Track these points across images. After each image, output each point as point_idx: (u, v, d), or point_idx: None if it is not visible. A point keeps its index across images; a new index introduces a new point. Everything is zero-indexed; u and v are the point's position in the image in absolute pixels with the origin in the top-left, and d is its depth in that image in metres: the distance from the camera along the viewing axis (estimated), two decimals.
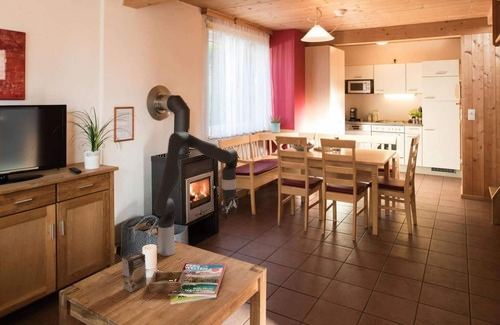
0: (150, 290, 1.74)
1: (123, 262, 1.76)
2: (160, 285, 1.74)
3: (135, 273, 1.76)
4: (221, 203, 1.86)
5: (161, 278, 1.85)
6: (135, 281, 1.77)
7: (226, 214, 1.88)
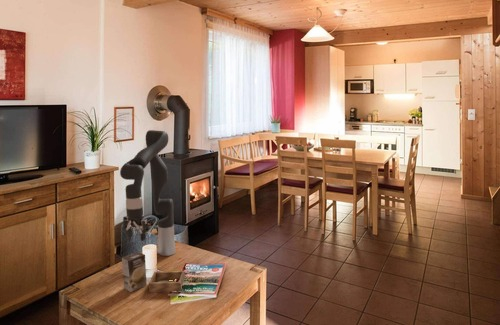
0: (150, 290, 1.74)
1: (123, 262, 1.76)
2: (160, 285, 1.74)
3: (135, 273, 1.76)
4: (145, 222, 1.71)
5: (161, 278, 1.85)
6: (135, 281, 1.77)
7: None
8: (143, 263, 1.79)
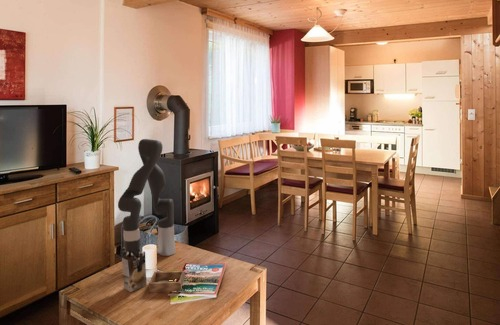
0: (150, 290, 1.74)
1: (123, 262, 1.76)
2: (160, 285, 1.74)
3: (135, 273, 1.76)
4: (142, 255, 1.74)
5: (161, 278, 1.85)
6: (135, 281, 1.77)
7: None
8: None
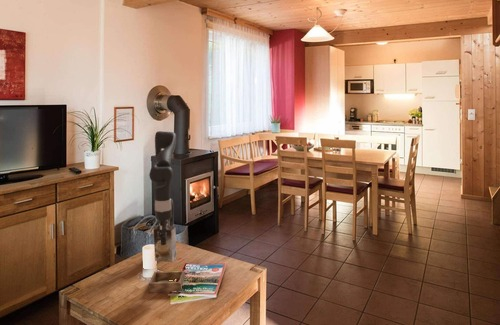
0: (150, 290, 1.74)
1: None
2: (160, 285, 1.74)
3: (159, 244, 1.74)
4: (159, 228, 1.68)
5: (161, 278, 1.85)
6: (159, 252, 1.74)
7: (164, 238, 1.72)
8: (168, 238, 1.72)
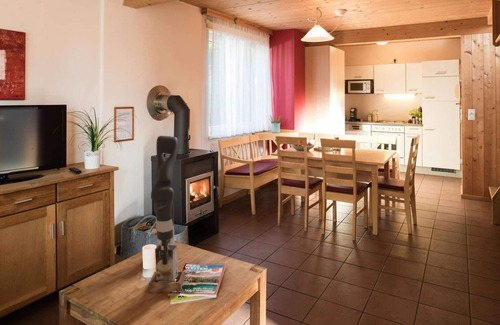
0: (150, 290, 1.74)
1: None
2: (160, 285, 1.74)
3: (160, 263, 1.75)
4: (161, 248, 1.70)
5: None
6: (161, 272, 1.76)
7: (166, 258, 1.74)
8: (170, 258, 1.74)
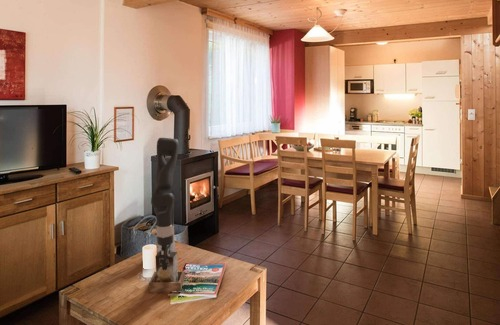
0: (150, 290, 1.74)
1: None
2: (160, 285, 1.74)
3: (161, 270, 1.76)
4: (161, 253, 1.70)
5: None
6: (161, 278, 1.77)
7: (166, 263, 1.73)
8: (170, 265, 1.75)
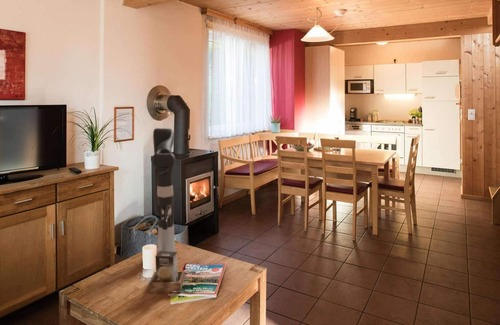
0: (150, 290, 1.74)
1: None
2: (160, 285, 1.74)
3: (161, 270, 1.76)
4: (161, 212, 1.71)
5: None
6: (161, 278, 1.77)
7: (166, 223, 1.75)
8: (170, 265, 1.75)
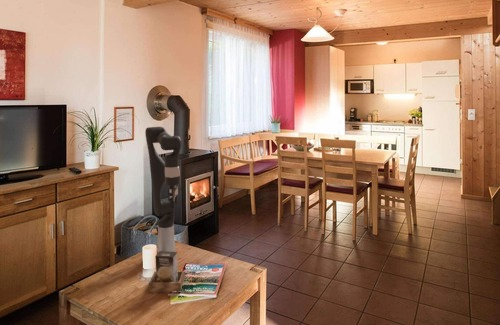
0: (150, 290, 1.74)
1: None
2: (160, 285, 1.74)
3: (161, 270, 1.76)
4: (169, 191, 1.82)
5: None
6: (161, 278, 1.77)
7: (173, 202, 1.86)
8: (170, 265, 1.75)
